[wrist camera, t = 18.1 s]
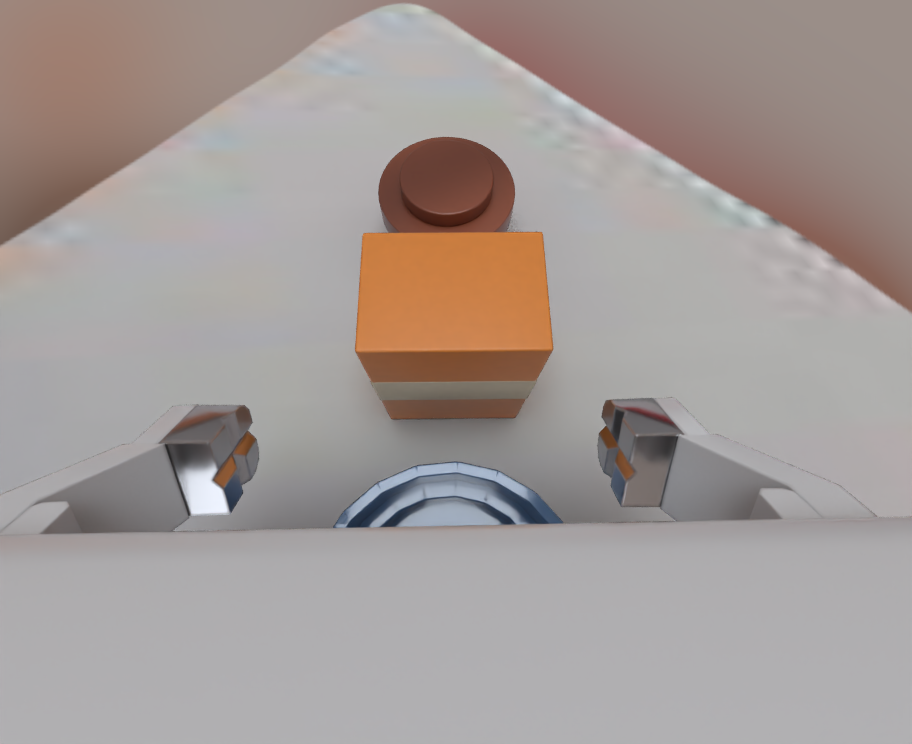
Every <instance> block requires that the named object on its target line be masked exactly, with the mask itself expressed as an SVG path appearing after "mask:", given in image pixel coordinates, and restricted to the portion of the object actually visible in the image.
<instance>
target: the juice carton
mask: <svg viewBox="0 0 912 744" xmlns="http://www.w3.org/2000/svg"><path fill="white" fill-rule="evenodd" d="M552 351H553V340H552V329H551V318H550V307H549V296H548V285H547V275H546V264H545V253H544V242H543V234H542V232H457V233H364V234H363V237H362V252H361V267H360V282H359V297H358V313H357V328H356V343H355V352H356V354H357V356H358V358H359V359H360V361H361V363H362V365H363V367H364V369H365V371H366V373H367V374H368V376H369V378H370V380H371V381H370V382H371V384H372V386H373V388H374V389H375V391H376V393H377V395H378V397H379V399H380V400H381V401H382V402H383V404H384V406H385V408H386V410H387V412H388V414H389V416H390V417H391V419H433V418H515V417H516V416H517V414H518V412H519V410H520V409H521V407H522V405H523V403H524V401H525V400H526V399H527V398H528V396H529V394H530V392H531V391H532V389H533V387H534V385H535V383H536V382H537V378H538V376H539V374H540V373H541V371H542V369H543V367H544V365H545V363H546V362H547V360H548V358H549V356H550V354H551V353H552Z"/></svg>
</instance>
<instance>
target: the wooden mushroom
mask: <svg viewBox="0 0 912 744" xmlns="http://www.w3.org/2000/svg"><path fill="white" fill-rule="evenodd" d="M378 195H379V203H380V207H381V212H382V216H383V220H384V224H385V226H386V229H387V231H388V232H389V233H457V232H506V231H507V228H508V226H509V223H510V220H511V215H512V210H513V205H514V198H515V186H514V182H513V178H512V176H511V173H510V171H509V169H508V168H507V166H506V165H505V163H504V162H503V161H502V160H501V159H500V158H499V157H498V156H497V155H496V154H495V153H494V152H492V151H491V150H490V149H488V148H486V147H485V146H483V145H481V144H478V143H476V142H473V141H470V140H467V139H462V138H455V137H438V138H431V139H426V140H423V141H420V142H417V143H415V144H412V145H410V146H408V147H407V148H405V149H403V150H402V151H401V152H399V153H398V154H397V155H396V156H395V157H394V158H393V159H392V160H391V161H390V162H389V164H388V165H387V166H386V168H385V170H384V171H383V174H382V176H381V179H380V183H379V191H378Z"/></svg>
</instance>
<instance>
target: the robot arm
mask: <svg viewBox="0 0 912 744" xmlns="http://www.w3.org/2000/svg"><path fill="white" fill-rule="evenodd" d="M602 418H603V420H604V422H605V423H606V426H605V427H604V429H603V430H602V431H601V432H600V433H599V437H598V445H597V446H598V458H599V462H600V466H601V468H602V470H603V472H604V473H605V474H606V475H608V476H610V477H611V478H612V480H611V488H612V490H613V492H614V494H615V496H616V498H617V500H618V502H619V504H620V505H621V507H661V508H660V509H662V510H663V511H664V512H666V513H667V514H668V515H669V516H671V517H672V518H673V519H675V520H676V521H657V522H608V523H559V524H510V525H461V526H412V527H362V528H313V529H263V530H213V531H173V530H174V529H175V528H177V527H178V526H179V525H181V524H182V523H183V522H185V521H186V520H187V519H189V516H204V515H225V514H231V512H232V511H233V509H234V507H235V506H236V504H237V502H238V501H239V499H240V498H241V496H242V494H243V490H242V486H241V485H243V484H245V483H246V482H248V481H250V480H251V479H252V477H253V476H254V474H255V472H256V470H257V465H258V460H259V448H258V443H257V439H256V438H255V437H254V436H253V435H252V434H251V433H250V432H249V431H248V429H249V428H250V426H251V424H252V423H253V422H252V418H251V414H250V411H249V409H248V408H247V407H246V406H245V405H198V404H197V405H177V406H172V407H171V408H170V409H169V410H168V411H167V412H166V413H165V414H163V415H162V416H161V417H160V418H159V419H158V420H157V421H156V422H155V423H154V424H152V425H151V426H150V427H149V428H148V429H147V430H146V431H145V432H144V433H143V434H141V435H140V436H139V437H138V438H137V439H136V440H135V441H134V442H133V443H131V444H123V445H120V446H118V447H115V448H113V449H110V450H108V451H105V452H103V453H101V454H98V455H96V456H93V457H91V458H88V459H86V460H83V461H81V462H79V463H76V464H74V465H71V466H69V467H66V468H64V469H62V470H59V471H57V472H54V473H52V474H49V475H47V476H44V477H42V478H40V479H37V480H35V481H32V482H30V483H27V484H25V485H22V486H20V487H18V488H15V489H13V490H10V491H8V492H5V493H3V494H0V744H912V516H911V517H877V516H876V515H875V514H874V513H873V512H872V511H870V510H869V509H868V508H867V507H866V506H864V505H863V504H862V503H861V502H860V501H858V500H857V499H856V498H855V497H854V496H852V495H851V494H850V493H849V492H848V491H846V490H845V489H844V488H843V487H842V486H840V485H838V484H836V483H833V482H831V481H828V480H826V479H824V478H821V477H819V476H816V475H814V474H812V473H809V472H807V471H804V470H802V469H800V468H797V467H795V466H792V465H790V464H788V463H785V462H783V461H780V460H778V459H776V458H773V457H771V456H769V455H766V454H764V453H761V452H759V451H757V450H754V449H752V448H749V447H747V446H745V445H742V444H740V443H737V442H735V441H733V440H730V439H728V438H725V437H723V436H721V435H718V434H710V433H709V432H708V431H707V430H706V429H705V428H704V427H703V426H702V425H701V424H700V423H699V422H698V421H697V420H696V419H695V418H694V417H693V416H692V415H691V414H690V413H689V412H688V410H687V409H686V408H685V407H684V406H683V405H682V404H681V403H680V402H679V401H678V400H677V399H675V398H672V397H666V398H640V399H615V400H606V401H605V404H604V406H603V411H602Z"/></svg>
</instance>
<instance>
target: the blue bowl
mask: <svg viewBox="0 0 912 744" xmlns="http://www.w3.org/2000/svg"><path fill="white" fill-rule="evenodd" d="M559 523H563V521H562V520H561V519H560V518H559V517H558V516H557V515H556V514H555V513H554V512H553V511H552V509H551V508H550V507H549V506H548V505H547V504H546V503H545V502H544V501H543V500H542V499H541V497H540V496H539V495H538V494H537V493H535V492H534V491H533V490H531V489H529V488H528V487H526V486H524V485H522V484H521V483H519V482H517V481H516V480H514V479H512V478H511V477H509V476H507V475H505V474H504V473H502V472H500V471H498V470H494V469H490V468H485V467H481V466H476V465H472V464H467V463H463V462H446V463H436V464H425V465H417V466H414V467H411V468H409V469H407V470H404V471H402V472H400V473H398V474H395V475H393V476H391V477H388V478H386V479H384V480H382V481H379V482H378V483H376V484H375V485H373V486H372V487H371V488H370V489H369V490H368V491H366V492H365V493H364V494H363V495H362V496H361V497H360V498H358V499H357V500H356V501H355V502H354V503H353V504H351V505H350V506H349V507H348V508H347V509H346V510H344V513H342V514H341V516H340V517H339V519H338V520H337V522H336V523H335V525H334V526H333V528H362V527H412V526H461V525H510V524H559Z"/></svg>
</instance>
